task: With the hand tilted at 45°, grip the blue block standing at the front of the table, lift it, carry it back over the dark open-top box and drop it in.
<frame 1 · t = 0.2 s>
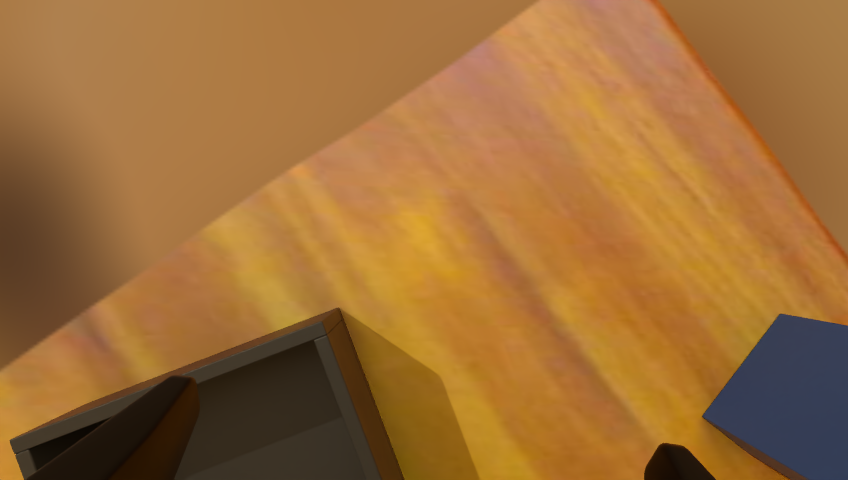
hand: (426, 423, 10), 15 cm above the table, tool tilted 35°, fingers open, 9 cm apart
blue block: (764, 383, 25), on the table
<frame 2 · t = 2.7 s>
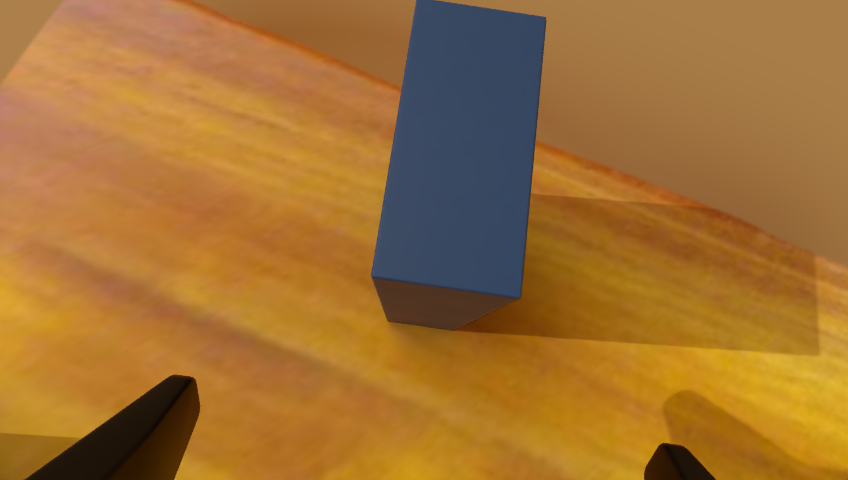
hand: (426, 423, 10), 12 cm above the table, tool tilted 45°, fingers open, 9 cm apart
blue block: (430, 254, 23), on the table
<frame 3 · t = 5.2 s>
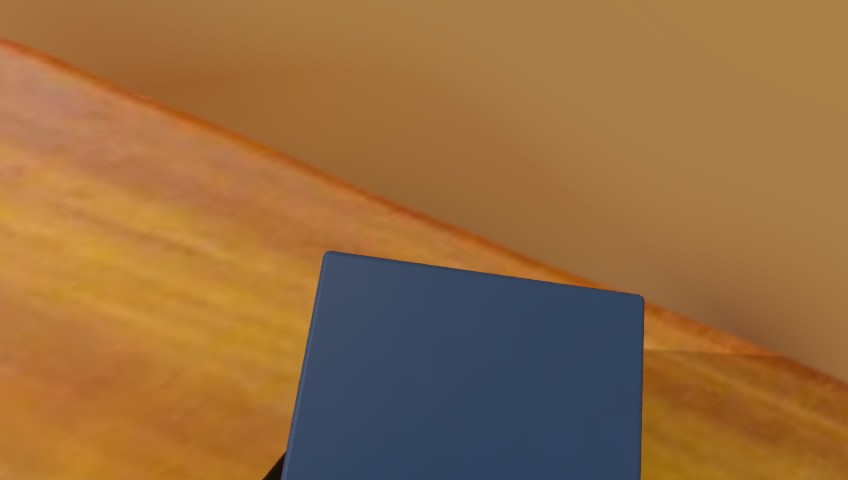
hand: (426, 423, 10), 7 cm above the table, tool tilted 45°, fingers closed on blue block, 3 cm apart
blue block: (409, 442, 16), on the table, touching gripper
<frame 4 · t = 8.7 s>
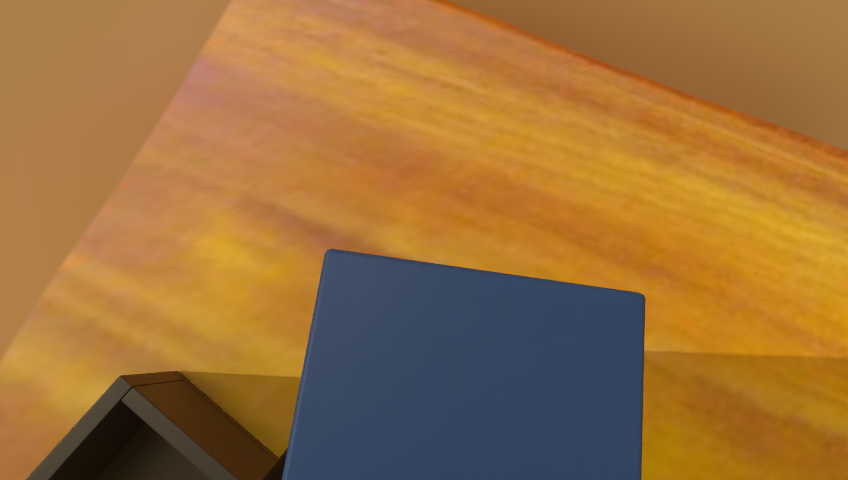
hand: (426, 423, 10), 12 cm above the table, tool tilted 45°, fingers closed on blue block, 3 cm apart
blue block: (409, 441, 16), point 6 cm above the table, touching gripper
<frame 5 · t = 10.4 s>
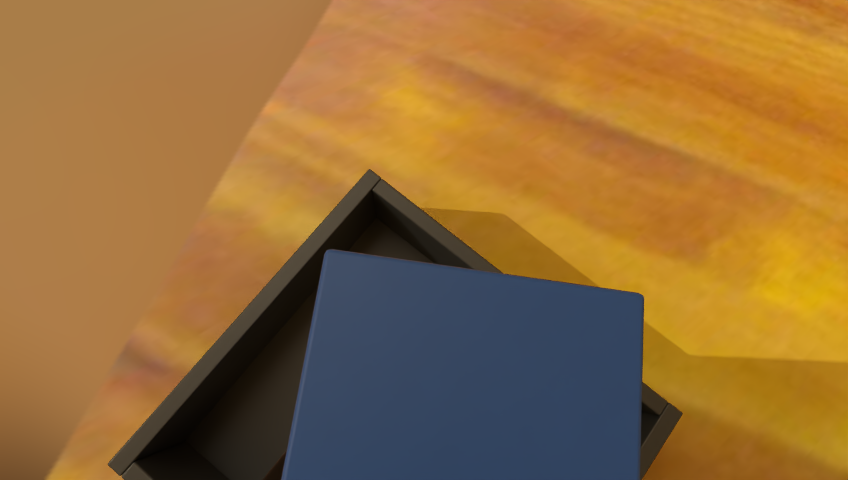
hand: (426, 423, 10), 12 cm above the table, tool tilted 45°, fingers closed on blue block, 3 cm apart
dark open-top box: (404, 420, 21), on the table
blue block: (409, 442, 16), point 5 cm above the table, touching gripper
when the fingers open (8 cm above the table, at t = 12.1 s): blue block stays where it is, resting on dark open-top box.
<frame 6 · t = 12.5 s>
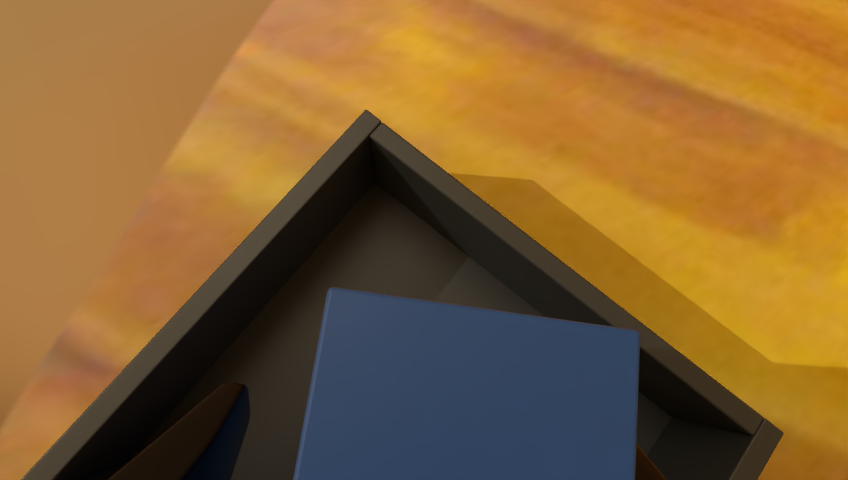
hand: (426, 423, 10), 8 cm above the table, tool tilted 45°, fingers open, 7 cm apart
dark open-top box: (408, 435, 17), on the table
blue block: (410, 441, 16), resting on dark open-top box
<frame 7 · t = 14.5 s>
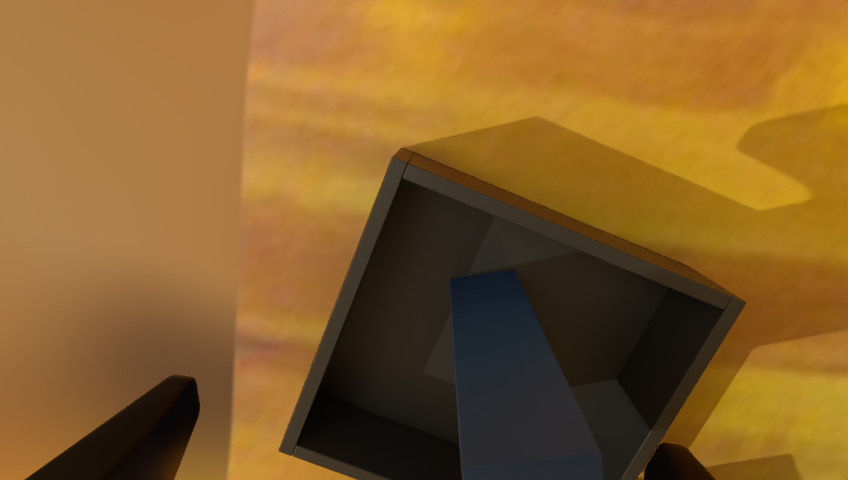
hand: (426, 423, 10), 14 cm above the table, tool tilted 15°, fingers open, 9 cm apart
dark open-top box: (488, 332, 24), on the table
blue block: (490, 338, 23), resting on dark open-top box
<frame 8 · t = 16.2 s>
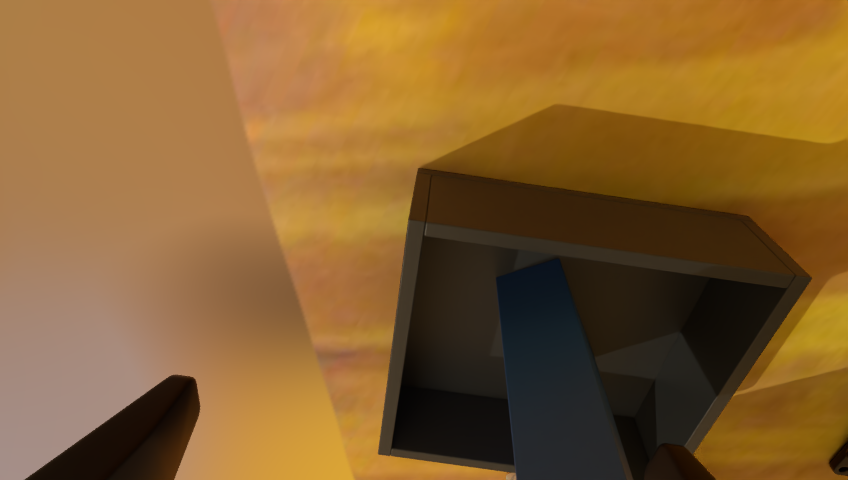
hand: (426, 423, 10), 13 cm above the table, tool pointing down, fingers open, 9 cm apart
dark open-top box: (544, 311, 24), on the table
blue block: (547, 319, 24), resting on dark open-top box
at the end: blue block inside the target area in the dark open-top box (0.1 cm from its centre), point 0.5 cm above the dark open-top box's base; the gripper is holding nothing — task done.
